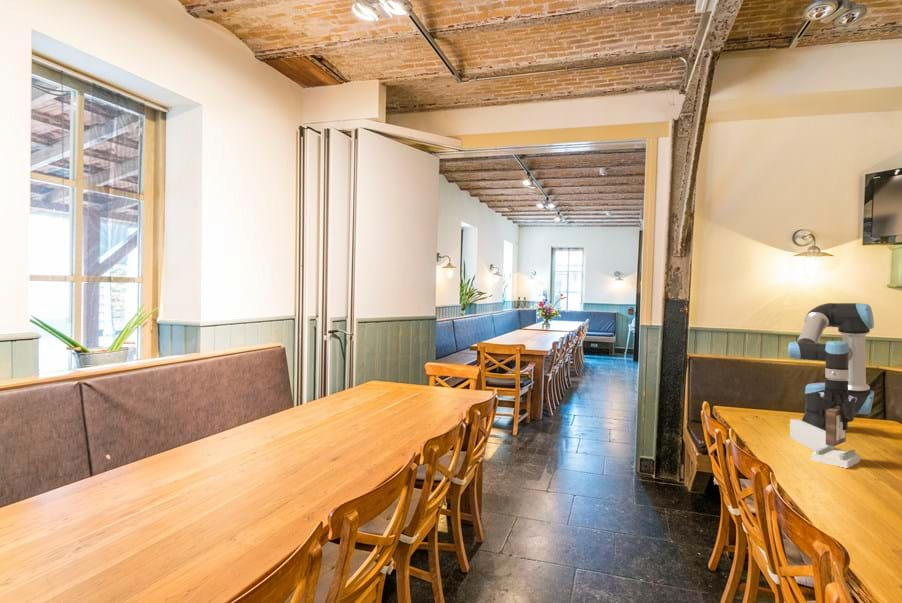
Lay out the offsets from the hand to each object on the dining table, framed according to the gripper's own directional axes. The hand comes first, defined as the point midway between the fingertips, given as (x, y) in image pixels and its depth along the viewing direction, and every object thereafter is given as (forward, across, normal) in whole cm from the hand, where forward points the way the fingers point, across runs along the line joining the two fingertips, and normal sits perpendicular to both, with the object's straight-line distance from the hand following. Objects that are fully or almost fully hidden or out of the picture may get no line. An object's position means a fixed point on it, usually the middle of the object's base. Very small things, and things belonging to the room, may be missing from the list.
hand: (835, 436), depth 201 cm
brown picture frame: (+3, 0, 0) cm, 3 cm away
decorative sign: (+11, -15, +15) cm, 24 cm away
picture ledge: (+10, 0, 0) cm, 10 cm away
